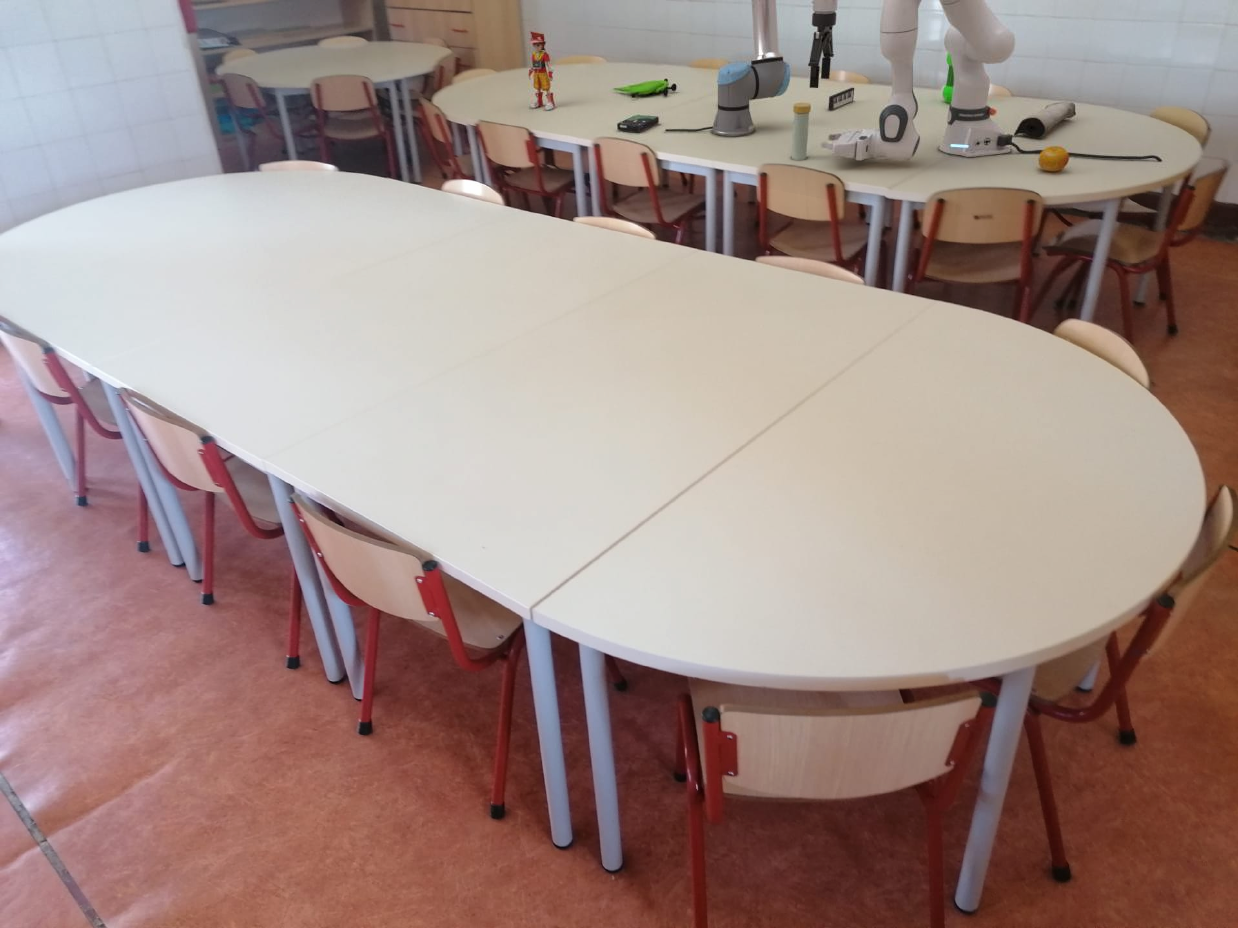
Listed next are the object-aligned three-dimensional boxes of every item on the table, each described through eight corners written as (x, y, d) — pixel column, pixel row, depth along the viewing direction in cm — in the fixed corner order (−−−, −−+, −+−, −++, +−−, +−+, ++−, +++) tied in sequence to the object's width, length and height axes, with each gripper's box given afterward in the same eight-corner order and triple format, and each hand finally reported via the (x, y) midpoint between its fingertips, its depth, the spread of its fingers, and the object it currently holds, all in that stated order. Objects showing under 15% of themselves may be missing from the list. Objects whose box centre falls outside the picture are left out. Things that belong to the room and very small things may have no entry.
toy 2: (686, 85, 398) (631, 84, 414) (685, 72, 395) (629, 72, 411) (651, 104, 381) (596, 103, 397) (650, 92, 378) (594, 91, 394)
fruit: (1033, 161, 277) (1052, 138, 274) (1031, 164, 284) (1049, 141, 281) (1057, 177, 275) (1075, 153, 272) (1054, 179, 283) (1072, 156, 280)
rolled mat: (1043, 107, 330) (1067, 89, 322) (1056, 128, 330) (1081, 111, 322) (1009, 129, 312) (1034, 111, 304) (1024, 151, 313) (1049, 134, 305)
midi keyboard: (831, 110, 354) (832, 97, 351) (828, 110, 355) (829, 96, 352) (853, 101, 364) (854, 88, 361) (850, 100, 365) (851, 87, 362)
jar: (809, 158, 304) (812, 106, 295) (797, 161, 302) (800, 108, 293) (800, 155, 308) (803, 103, 298) (788, 157, 306) (791, 106, 296)
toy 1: (525, 109, 381) (517, 32, 364) (534, 104, 388) (527, 28, 371) (550, 110, 377) (543, 32, 360) (559, 105, 384) (553, 28, 367)
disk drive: (640, 133, 341) (659, 123, 351) (639, 126, 339) (659, 116, 349) (617, 131, 346) (636, 121, 356) (616, 123, 344) (636, 113, 354)
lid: (813, 111, 295) (814, 105, 294) (800, 114, 293) (800, 107, 292) (803, 108, 299) (803, 101, 298) (789, 111, 297) (790, 104, 296)
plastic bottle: (973, 101, 354) (984, 32, 339) (955, 106, 349) (966, 36, 335) (952, 97, 361) (962, 29, 346) (934, 102, 356) (944, 33, 342)
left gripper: (823, 5, 294) (818, 74, 306) (801, 18, 276) (797, 91, 288) (846, 6, 291) (840, 75, 303) (825, 19, 273) (820, 92, 285)
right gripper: (875, 125, 299) (833, 123, 304) (861, 142, 284) (818, 139, 289) (873, 144, 302) (832, 142, 307) (859, 162, 287) (816, 159, 293)
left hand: (819, 83), depth 296 cm, fingers open, 13 cm apart
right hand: (825, 140), depth 298 cm, fingers open, 8 cm apart
